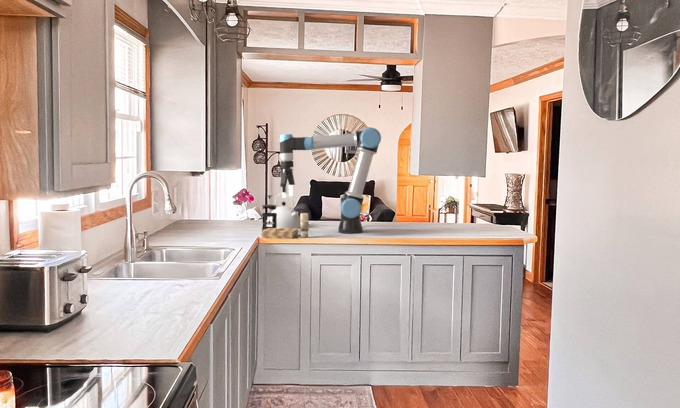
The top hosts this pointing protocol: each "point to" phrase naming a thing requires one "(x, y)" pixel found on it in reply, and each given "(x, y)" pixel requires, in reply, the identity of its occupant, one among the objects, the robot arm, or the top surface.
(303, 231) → the peg
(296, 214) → the kettle
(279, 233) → the board
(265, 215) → the french press
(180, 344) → the top surface
